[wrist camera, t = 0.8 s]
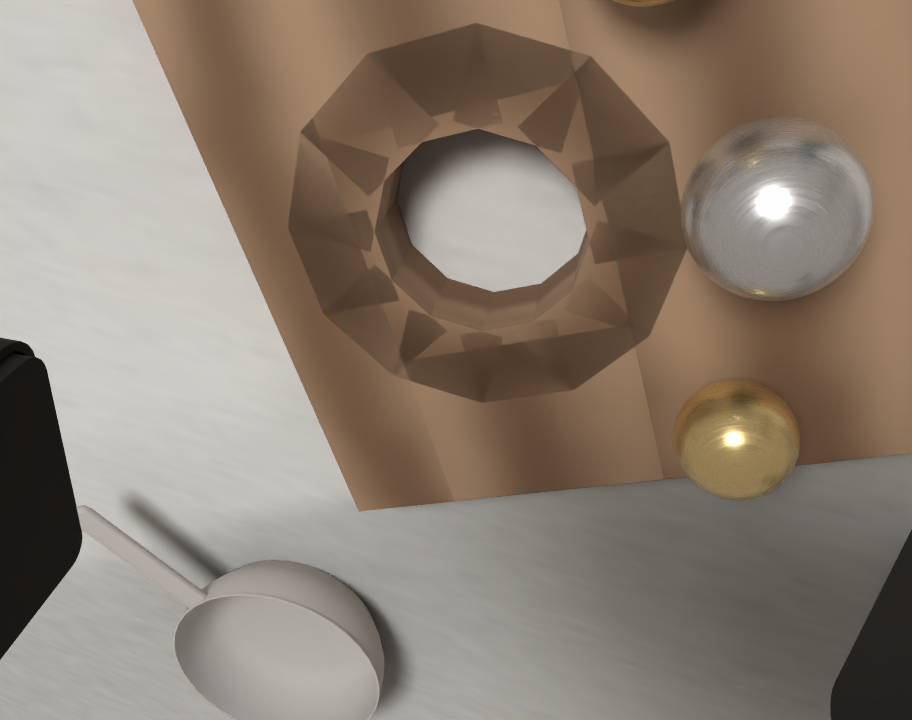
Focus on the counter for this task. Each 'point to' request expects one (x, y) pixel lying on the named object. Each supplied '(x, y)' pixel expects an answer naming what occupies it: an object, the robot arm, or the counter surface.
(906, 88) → the board
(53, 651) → the counter surface
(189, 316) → the counter surface
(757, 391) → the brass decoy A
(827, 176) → the steel ball
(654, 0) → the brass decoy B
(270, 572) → the saucepan
